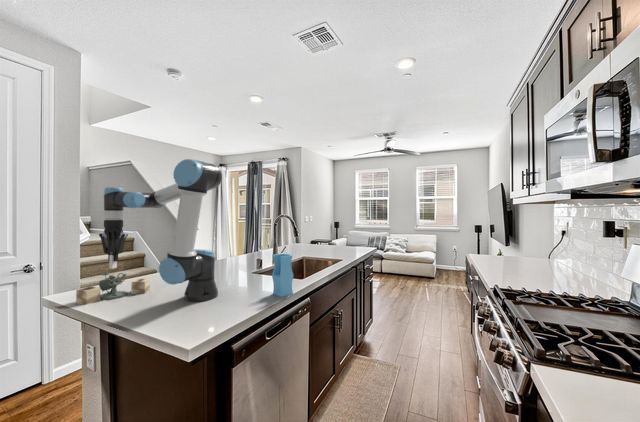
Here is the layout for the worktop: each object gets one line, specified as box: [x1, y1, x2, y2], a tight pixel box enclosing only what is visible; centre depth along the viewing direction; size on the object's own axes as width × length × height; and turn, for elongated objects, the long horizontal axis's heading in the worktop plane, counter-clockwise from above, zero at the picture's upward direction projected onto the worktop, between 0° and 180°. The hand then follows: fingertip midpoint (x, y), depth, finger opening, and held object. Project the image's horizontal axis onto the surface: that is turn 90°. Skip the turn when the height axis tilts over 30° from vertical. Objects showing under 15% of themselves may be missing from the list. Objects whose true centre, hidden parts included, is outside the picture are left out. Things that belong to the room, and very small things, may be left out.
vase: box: [271, 252, 295, 298], centre depth 140 cm, size 8×8×20 cm
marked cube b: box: [75, 285, 101, 305], centre depth 125 cm, size 6×6×6 cm
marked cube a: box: [130, 278, 151, 295], centre depth 140 cm, size 6×6×6 cm
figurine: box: [98, 272, 128, 301], centre depth 132 cm, size 11×11×12 cm
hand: (113, 268), depth 132 cm, fingers closed
